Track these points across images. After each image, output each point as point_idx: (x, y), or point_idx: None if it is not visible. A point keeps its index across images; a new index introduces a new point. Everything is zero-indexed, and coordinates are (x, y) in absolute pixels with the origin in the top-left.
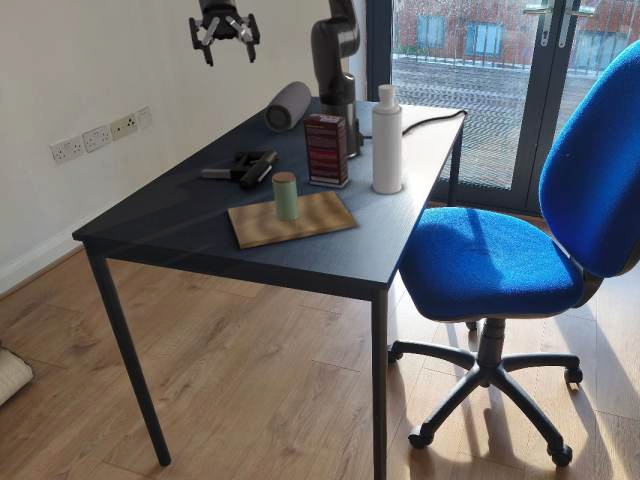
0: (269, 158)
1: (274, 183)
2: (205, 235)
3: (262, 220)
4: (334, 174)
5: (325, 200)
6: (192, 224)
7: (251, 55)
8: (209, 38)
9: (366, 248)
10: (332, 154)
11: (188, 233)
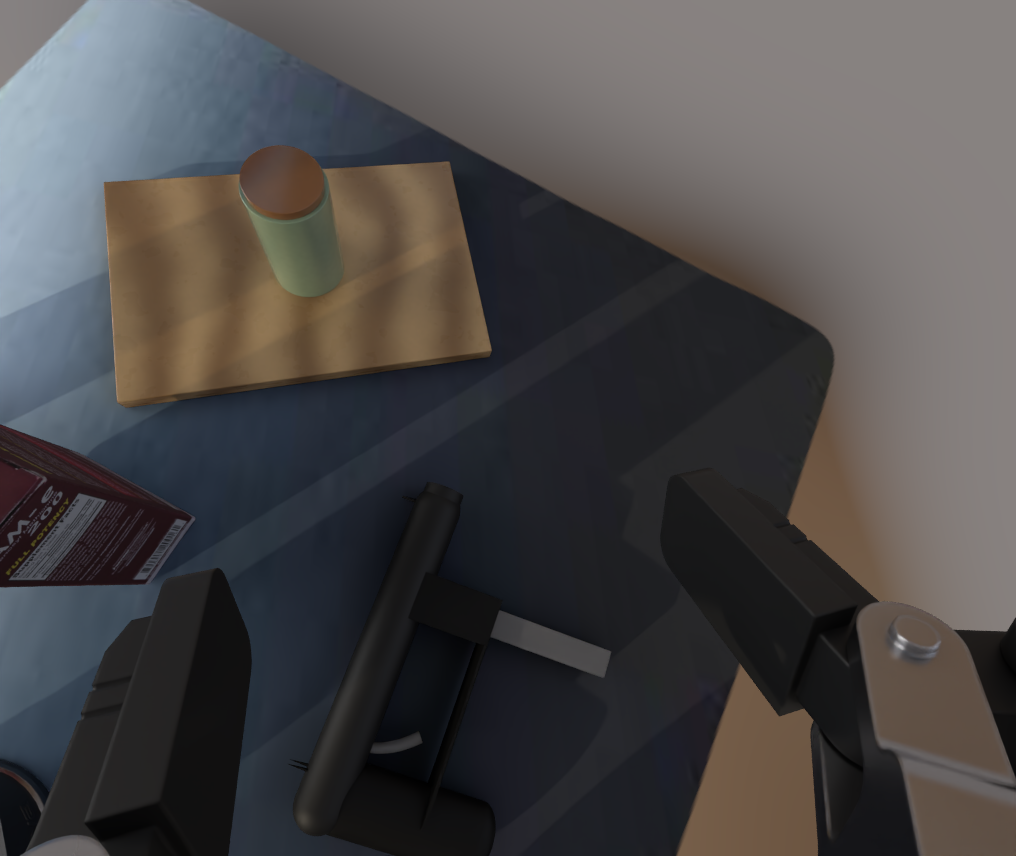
0: (333, 717)
1: (322, 169)
2: (540, 255)
3: (387, 257)
4: (70, 452)
5: (165, 334)
6: (582, 318)
7: (189, 590)
8: (892, 725)
9: (118, 90)
10: (15, 433)
11: (585, 275)
